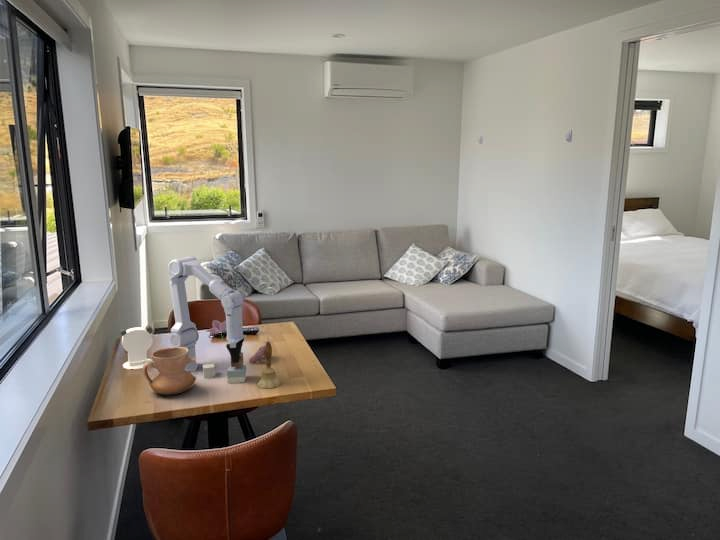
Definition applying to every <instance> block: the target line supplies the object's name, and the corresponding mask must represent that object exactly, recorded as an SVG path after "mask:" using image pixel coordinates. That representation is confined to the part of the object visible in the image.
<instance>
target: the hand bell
mask: <svg viewBox="0 0 720 540" xmlns="http://www.w3.org/2000/svg"><path fill="white" fill-rule="evenodd" d="M272 355H273V347H272V344H271V342H270V341H266V342H265V360H266V361H265V363H266V365H265V368H264V369H263V370H262V374H261V378H260V380H259V381H258V382H257V386H258V387H259V388H260V387H261V389H274V388H278V387H279V386H281V384H282V382H281V380H279V378H278V377H277V374H276V369H275V368H273V367H272V360H271V359H272V358H271V357H272Z"/></svg>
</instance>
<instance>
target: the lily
mask: <svg viewBox="0 0 720 540" xmlns="http://www.w3.org/2000/svg"><path fill="white" fill-rule="evenodd" d="M211 326H212V327H211V328H209V329H207V330H206V331H205V332H206V333H207V332H208V333H209V335H208V338H209V337H210V336H212V335H213V336H215V335H217V334H218V335H220V334H219V333H221V335H220V336H221V338H222V340H225V339H224V335H223V336H222V332H224V333H225V330H227V328H226V320H224V321H222V322H220V321H219V320H216V319H214V320H212V325H211ZM214 334H215V335H214ZM213 336H212V337H213ZM210 338H211V337H210Z"/></svg>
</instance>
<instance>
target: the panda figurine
mask: <svg viewBox="0 0 720 540" xmlns="http://www.w3.org/2000/svg"><path fill="white" fill-rule="evenodd" d="M153 332H154V330H153V328H152V326H151V325H146V326H145V328H144V327H138V326H136V327H131V328H128V329H126V328H121V329H120V334H121V336H122V337H121V344H122V347H123V349H124V350H125V353H126V355H127V359H128V360H127V361H125V362H124V363H123V364H122V368H123V369H125V370H131V369H134V370H141V369H142V370H143V366H144V365H145V364H146V363H147V362H153V359H151V358H147V356H148V355H147V354H148V350H149V349H151V347H152V345H153V342H154V341H153V337H152V335H151V334H153ZM149 367H150V366H148V367H147V368H149Z"/></svg>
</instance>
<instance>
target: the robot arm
mask: <svg viewBox="0 0 720 540" xmlns="http://www.w3.org/2000/svg"><path fill="white" fill-rule="evenodd" d="M201 264H202V263H201V260H199V259H198V258H197V257H195V256H193V255H190V256H186V257H182V258H174V259H172V260H170V262H169V263H168V264H167V272H168V282H169V283H168V284H169V289H170V295H171V301H172V308H173V309H172V310H173V315H174V321H175V322H174V325H173V326H172V327H171V328H170V338H169V340H170V344H171V347H184V348H187V349H188V351H189V354H188V358H196V359H197V355H196V345H197V342H198V341H199V337H200V334H199V331H198V329H197V327H196V325H197V324H196V323H195V322H192V321H191V318H190V311H189V304H188V296H187V291H186V290H187V289H186V284H185V283H186V280H188V278H189V276H192V277H195V278H197V279H198V280H199V281H200V282H202V283H203V284H205V285H206V286H208V290H209V292H210V293H211V294H212V295H214V296H215V297H216V298H217V299H218V300H220V302H221V306H222V308H223V310H224V313H225V321H226V341H228V343H226V345H225V347H226V349H227V351H228V353H229V355H230V360H231V359H232V362H233V363H238V362H239V356H240V352H242V347H243V344H244V341H245V339H247V334H244V331H243V330H244V327H243V325H244V324H243V311H242V310H243V307H242V306H243V305H244V303H245V296H244V293H243V292H241V290H238V289H237V290H235V289H233V288H232V287H230V286H229V285H228V284H227V283H226V282H225V280H223V279H220V278H218V279H216V278H215V277H214V276H212V275H211V273H210V272H208V271H207V270H206V269H205V268H204V267H203V266H202V265H201ZM199 364H200V363H199V362H197V360H196V361H195V362H193V361H192V362H189V363H188V364H186V366H185V369H184V370H186V371H188V372H195V371H196V370H197V368H198V366H199Z"/></svg>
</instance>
